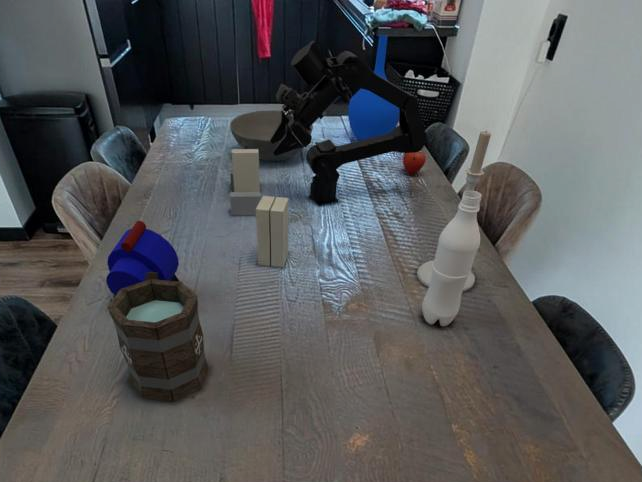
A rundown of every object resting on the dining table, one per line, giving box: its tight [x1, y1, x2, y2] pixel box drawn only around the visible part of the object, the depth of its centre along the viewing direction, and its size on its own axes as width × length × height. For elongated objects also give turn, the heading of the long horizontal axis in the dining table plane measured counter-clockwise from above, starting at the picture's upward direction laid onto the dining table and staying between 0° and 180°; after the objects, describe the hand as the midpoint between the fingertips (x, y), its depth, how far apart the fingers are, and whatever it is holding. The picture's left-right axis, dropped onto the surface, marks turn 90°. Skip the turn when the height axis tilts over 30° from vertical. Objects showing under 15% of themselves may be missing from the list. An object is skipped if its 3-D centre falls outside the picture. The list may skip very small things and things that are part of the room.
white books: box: [255, 195, 290, 268], centre depth 107 cm, size 7×6×13 cm
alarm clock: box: [105, 220, 181, 298], centre depth 94 cm, size 12×12×15 cm
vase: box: [347, 34, 399, 141], centre depth 161 cm, size 18×18×30 cm
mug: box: [107, 272, 210, 402], centre depth 80 cm, size 20×14×15 cm
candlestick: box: [416, 129, 492, 293], centre depth 97 cm, size 13×13×30 cm
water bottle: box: [421, 190, 483, 327], centre depth 88 cm, size 7×7×25 cm
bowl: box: [229, 110, 314, 162], centre depth 154 cm, size 26×26×10 cm
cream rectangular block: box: [231, 148, 261, 193], centre depth 129 cm, size 7×3×13 cm, turn 95°
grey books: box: [229, 165, 262, 217], centre depth 133 cm, size 8×21×5 cm, turn 5°
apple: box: [402, 151, 427, 176], centre depth 147 cm, size 8×7×10 cm
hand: (272, 148), depth 124 cm, fingers open, 9 cm apart
